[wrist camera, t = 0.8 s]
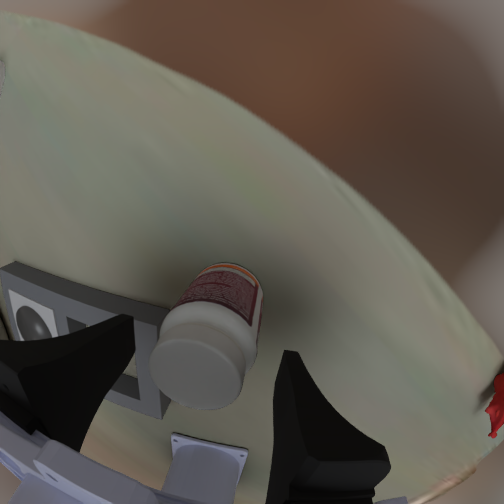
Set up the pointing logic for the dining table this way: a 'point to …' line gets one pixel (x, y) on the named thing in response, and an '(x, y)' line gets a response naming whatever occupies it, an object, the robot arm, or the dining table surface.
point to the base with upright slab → (2, 75)
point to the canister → (3, 331)
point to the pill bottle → (209, 339)
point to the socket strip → (76, 316)
